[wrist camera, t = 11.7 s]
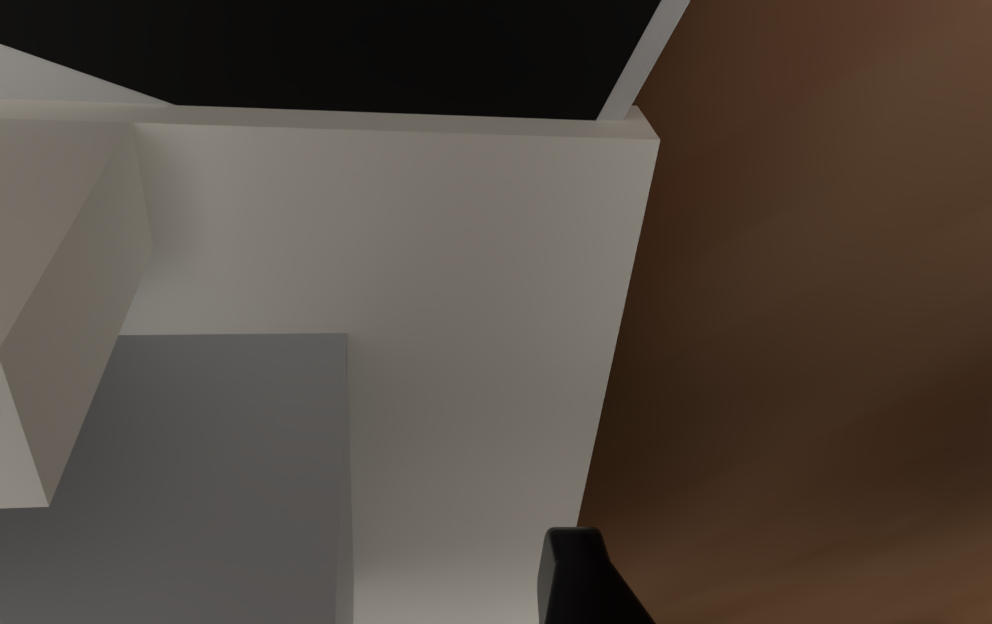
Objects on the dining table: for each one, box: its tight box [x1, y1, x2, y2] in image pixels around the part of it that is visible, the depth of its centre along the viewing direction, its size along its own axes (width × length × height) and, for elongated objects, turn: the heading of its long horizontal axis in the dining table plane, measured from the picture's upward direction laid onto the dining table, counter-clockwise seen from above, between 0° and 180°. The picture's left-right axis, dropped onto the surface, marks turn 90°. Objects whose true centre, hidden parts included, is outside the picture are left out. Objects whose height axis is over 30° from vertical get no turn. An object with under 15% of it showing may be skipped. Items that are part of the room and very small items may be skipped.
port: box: [0, 99, 660, 624], centre depth 8 cm, size 10×8×4 cm
